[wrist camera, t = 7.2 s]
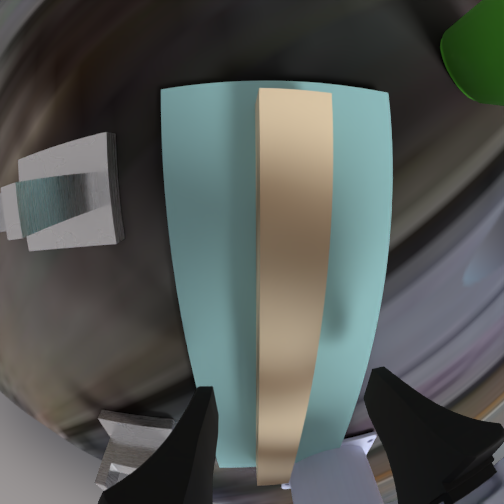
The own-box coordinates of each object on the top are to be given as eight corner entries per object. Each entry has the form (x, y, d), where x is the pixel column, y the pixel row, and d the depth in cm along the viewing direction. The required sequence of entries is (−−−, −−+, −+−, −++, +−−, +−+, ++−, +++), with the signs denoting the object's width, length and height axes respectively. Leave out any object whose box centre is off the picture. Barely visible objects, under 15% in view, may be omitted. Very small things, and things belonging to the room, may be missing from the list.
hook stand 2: (187, 451, 17) (180, 512, 11) (123, 443, 17) (107, 497, 11) (173, 418, 16) (159, 490, 10) (101, 409, 16) (76, 469, 10)
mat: (334, 449, 18) (336, 455, 17) (219, 460, 18) (219, 467, 17) (380, 96, 10) (388, 92, 10) (165, 94, 10) (161, 89, 9)
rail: (285, 460, 17) (288, 483, 15) (255, 462, 17) (257, 485, 15) (313, 107, 10) (331, 93, 8) (255, 104, 10) (259, 88, 7)
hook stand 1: (125, 238, 12) (49, 294, 6) (39, 245, 12) (-35, 288, 6) (115, 134, 10) (27, 117, 5) (29, 159, 10) (-54, 168, 4)
